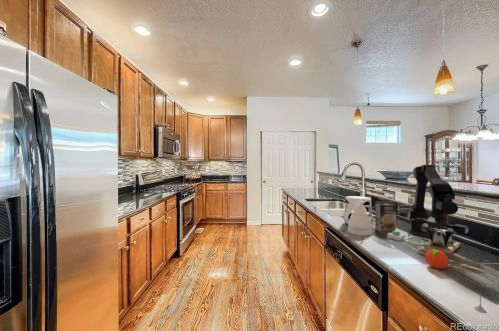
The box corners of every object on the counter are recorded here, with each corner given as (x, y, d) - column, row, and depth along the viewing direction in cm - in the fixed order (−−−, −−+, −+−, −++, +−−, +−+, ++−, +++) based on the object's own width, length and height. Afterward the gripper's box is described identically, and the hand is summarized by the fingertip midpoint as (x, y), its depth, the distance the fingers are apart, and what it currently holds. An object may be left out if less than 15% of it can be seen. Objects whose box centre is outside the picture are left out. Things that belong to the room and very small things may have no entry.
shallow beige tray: (435, 242, 116) (436, 237, 116) (459, 248, 109) (460, 242, 109) (423, 249, 106) (423, 244, 106) (449, 256, 99) (449, 250, 99)
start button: (394, 235, 122) (394, 230, 122) (400, 236, 119) (400, 231, 119) (391, 236, 120) (391, 231, 120) (398, 237, 117) (398, 232, 117)
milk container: (340, 221, 157) (340, 195, 157) (366, 222, 156) (366, 196, 156) (348, 228, 140) (348, 199, 140) (377, 229, 138) (378, 200, 138)
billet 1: (431, 246, 105) (431, 231, 105) (434, 244, 108) (434, 229, 108) (443, 249, 102) (444, 234, 101) (446, 247, 104) (447, 232, 104)
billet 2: (440, 242, 113) (440, 228, 113) (452, 245, 110) (453, 231, 110) (437, 244, 111) (437, 230, 111) (449, 247, 107) (450, 232, 107)
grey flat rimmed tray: (412, 238, 123) (412, 235, 123) (432, 242, 116) (432, 240, 116) (402, 242, 116) (402, 239, 116) (423, 248, 108) (423, 245, 108)
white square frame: (392, 237, 124) (392, 231, 124) (404, 240, 119) (405, 234, 119) (387, 239, 120) (387, 233, 120) (400, 242, 115) (400, 236, 115)
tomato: (444, 274, 82) (444, 255, 82) (421, 267, 88) (421, 249, 88) (450, 268, 87) (451, 250, 87) (428, 262, 93) (428, 244, 93)
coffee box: (379, 232, 133) (380, 204, 133) (374, 228, 140) (375, 203, 140) (396, 232, 132) (396, 205, 132) (390, 229, 139) (391, 203, 139)
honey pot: (352, 227, 142) (353, 199, 141) (375, 232, 132) (375, 201, 132) (344, 232, 133) (344, 201, 132) (367, 237, 123) (368, 204, 123)
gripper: (409, 208, 108) (408, 241, 108) (462, 216, 92) (461, 254, 93) (418, 206, 114) (417, 236, 114) (469, 213, 99) (468, 248, 99)
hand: (438, 243), depth 105 cm, fingers closed on billet 1, 4 cm apart
